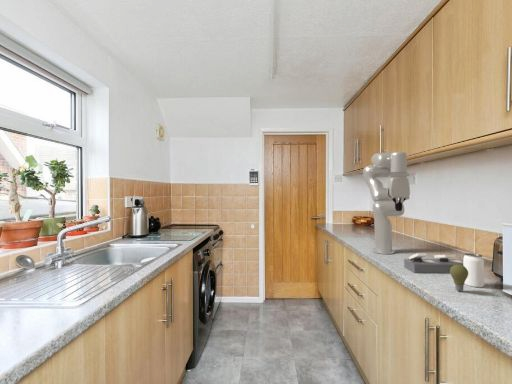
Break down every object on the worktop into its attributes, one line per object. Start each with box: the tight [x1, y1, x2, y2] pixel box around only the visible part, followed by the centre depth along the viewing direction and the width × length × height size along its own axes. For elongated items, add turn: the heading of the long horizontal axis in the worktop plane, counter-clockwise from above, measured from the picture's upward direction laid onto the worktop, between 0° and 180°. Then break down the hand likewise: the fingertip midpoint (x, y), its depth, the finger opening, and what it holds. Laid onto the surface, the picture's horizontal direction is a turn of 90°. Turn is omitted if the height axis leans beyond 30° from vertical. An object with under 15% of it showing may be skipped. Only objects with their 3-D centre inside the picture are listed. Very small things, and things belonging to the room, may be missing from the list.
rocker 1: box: [408, 252, 428, 259], centre depth 132 cm, size 9×4×1 cm, turn 176°
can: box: [462, 252, 485, 289], centre depth 110 cm, size 6×6×12 cm
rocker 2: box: [433, 254, 455, 259], centre depth 131 cm, size 9×4×1 cm, turn 176°
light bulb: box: [449, 264, 468, 292], centre depth 104 cm, size 6×6×10 cm
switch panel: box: [403, 258, 463, 274], centre depth 131 cm, size 10×24×6 cm, turn 86°
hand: (398, 210), depth 145 cm, fingers closed
